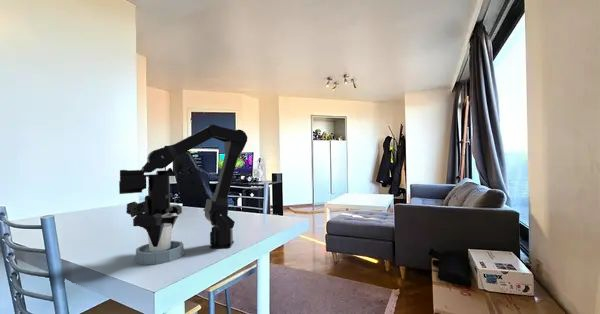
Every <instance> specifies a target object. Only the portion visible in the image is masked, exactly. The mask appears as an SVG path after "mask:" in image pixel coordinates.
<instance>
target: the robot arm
mask: <svg viewBox="0 0 600 314" xmlns="http://www.w3.org/2000/svg"><path fill="white" fill-rule="evenodd" d="M210 139H214V140H217V141H218V142H219V141H220V142H222V143H224V148H223V149H224V157H223V161H222V165H221V169H220V173H219V176H218V178H217V179H218V180H217V182H216V187H215V190H214V194H213V196H212V198H211V199H209V198H207V199H206V200H205V207H204V208H203V211H204V217H205V219H206V220H207V221H208V222H210V224H211V231H210V233H209V244H210V246H209V249H222V248H223V249H224V248H225V249H226V248H227V249H228V248H231V247H232V245H234V243H235V240H234V239H233V236H234V235H233V234H234V233H233V228H234V227H235V221H234V219H232V217H230V216H228V214H229V199H228V198H229V193H230V189H231V186H232V181H233V177H234V175H235V171H236V166H237V163H238V160H239V159H238V158H240V157H239V156H240V155H241V153H243V151H244V149H245V146H246V144H247V143H248V135H247V133H246V132H245V131H244V130H243V129H231V128H228V127H223V126H219V125H217V124H210V125H207V126H206V127H205V128H203V129H201V130H199V131H197V132H195V133H194V134H191V135H190V136H188V137H186V138H183V139H181V140H180V141H177V142H176V143H173V144H171V145H168V146H164V147H161V148H158V149H154V150H152V151H151V152H149V153H148V154H147V158H146V163H145V164H144V165H143V166H141V169H135V170H133V169H130V170H127V169H120V170H119V181H118V188H119V191H118V192H119V195H123V194H124V195H125V194H128V195H129V194H138V193H140V194H141V193H143V190H145V189H147V179H148V195H145V197H144V200H143V201H142V202H141V201H140V202H138V203H137V202H136V201H132V202H129V203H126V214H128V215H130V217H131V218H132V226H133V227H140V228H142V229H144V230H146V232H147V236H148V235H149V237H150V240H151V242H152V245H153V247H157V246H158V243H159V240H160V237H161V233H162V230H163V226H164V223H171V224H172V229H173V228H174V226H175V223H176V222H177V219H178V218H179V215H181V214H183V209H182V206H181V205H180V204H171V198H172V197H173V193H171V186H170V185H171V183H170V178H171V176H177V172H175V171H174V170H173V169H172V167H168V166H169V165H170V164H172V163H174V161H175V160H177V159H178V158H179V157H180V156H181V155H183V154H185V153H186V152H189V150H192V149H194V148H196V147H197V146H199V145H201V144H203V143H205V142H207V141H209V140H210ZM167 167H168V169H165V168H167ZM157 169H158V170H157ZM161 169H165V170H161ZM154 171H156V172H155V173H153V172H154ZM145 173H147V174H145ZM149 173H152V174H149ZM203 211H202V212H203Z"/></svg>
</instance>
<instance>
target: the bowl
mask: <svg viewBox="0 0 600 314" xmlns="http://www.w3.org/2000/svg"><path fill="white" fill-rule="evenodd" d="M184 250H185V247H184V243H183V241H180V240H179V241H178V240H171V247H170V248H169V249H167V250H164V251H156V252H153V251H150V248H149V243H146V244H143V245H140V246H138V247H137V248H136V249H135V262H136V263H137V264H139V265H140V264H141V265H158V264H163V263H169V262H173V261H174V260H178V259H180V258H181V257H182V256H184V254H185V251H184Z"/></svg>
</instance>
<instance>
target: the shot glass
mask: <svg viewBox="0 0 600 314" xmlns="http://www.w3.org/2000/svg"><path fill="white" fill-rule="evenodd" d="M172 231H173V228H172V224H171V223H164V226H163V230H162V233H161V237H160V240H159V243H158V246H157V247H153V245H152V242H151V240H150V237H149V235H148V234H147V237H148V244H149V248H150V251H153V252H156V251H164V250H167V249H169V248H170V247H171V241H172V233H173V232H172Z"/></svg>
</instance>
